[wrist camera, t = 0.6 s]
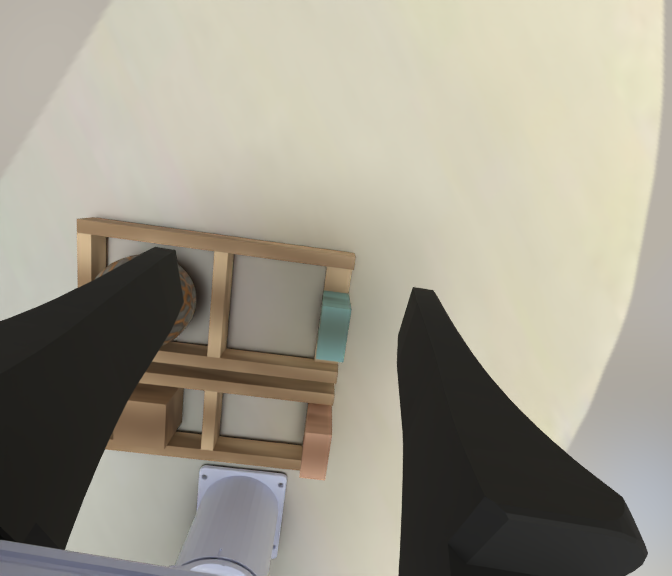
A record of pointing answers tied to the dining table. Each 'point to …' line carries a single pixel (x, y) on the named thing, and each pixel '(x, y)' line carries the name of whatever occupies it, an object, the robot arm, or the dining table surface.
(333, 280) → the tray
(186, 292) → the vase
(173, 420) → the walnut cube
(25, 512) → the robot arm
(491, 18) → the dining table surface
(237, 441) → the frame
